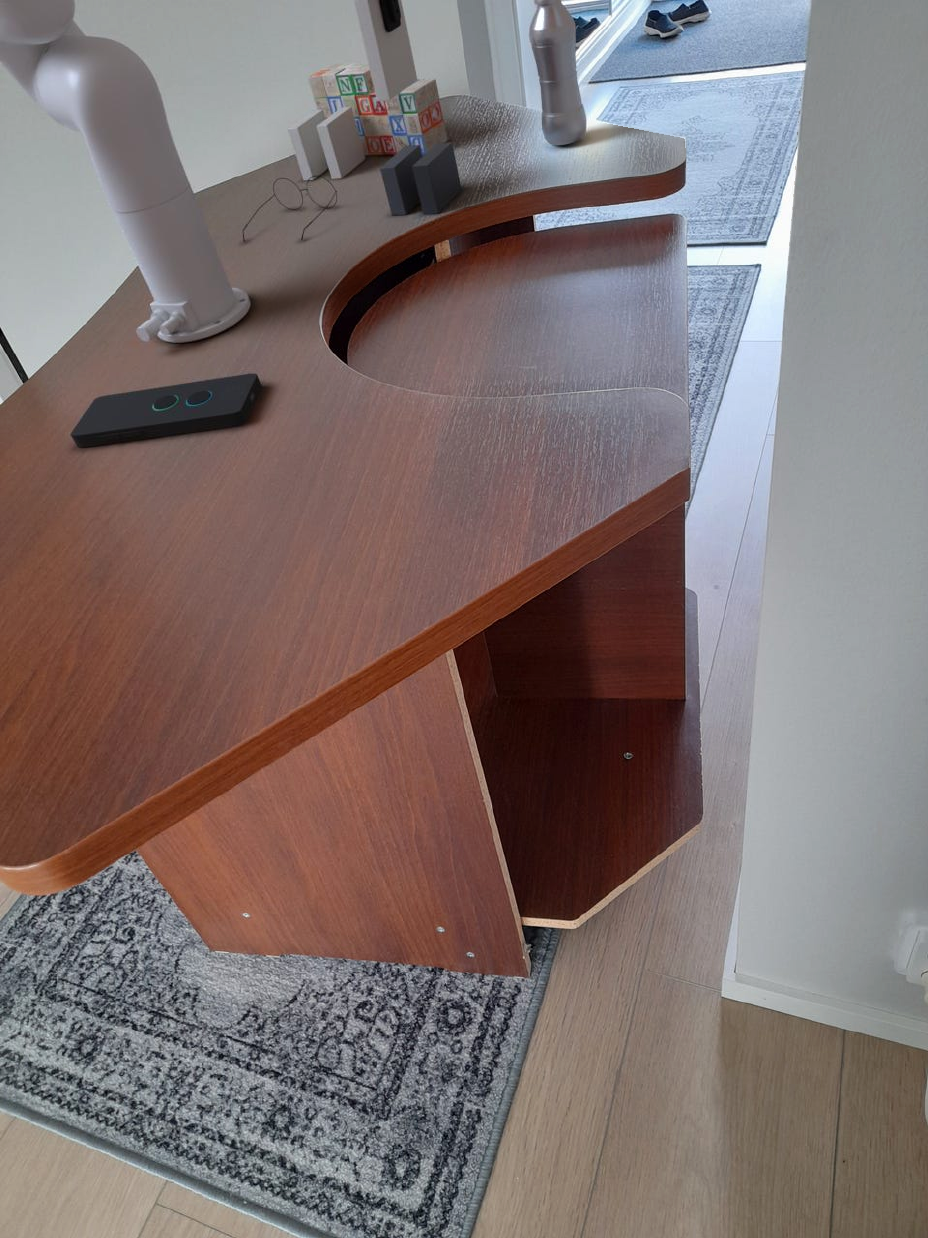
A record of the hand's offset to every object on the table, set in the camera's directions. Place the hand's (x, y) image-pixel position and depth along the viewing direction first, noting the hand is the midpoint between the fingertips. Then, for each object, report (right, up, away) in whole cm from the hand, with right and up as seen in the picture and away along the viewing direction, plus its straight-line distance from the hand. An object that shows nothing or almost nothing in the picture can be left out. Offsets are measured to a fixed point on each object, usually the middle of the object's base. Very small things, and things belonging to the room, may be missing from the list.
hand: (384, 28), depth 114 cm
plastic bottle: (+26, -3, +21) cm, 33 cm away
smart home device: (-22, -53, -15) cm, 59 cm away
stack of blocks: (-3, +4, +37) cm, 37 cm away
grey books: (+5, -15, +15) cm, 22 cm away
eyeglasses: (-15, -16, +20) cm, 30 cm away
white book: (+1, -5, +5) cm, 7 cm away
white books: (-11, -1, +35) cm, 36 cm away
